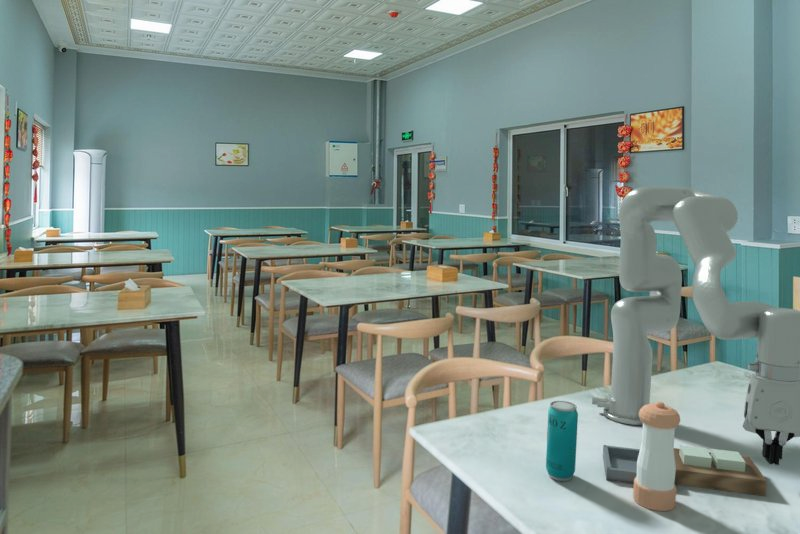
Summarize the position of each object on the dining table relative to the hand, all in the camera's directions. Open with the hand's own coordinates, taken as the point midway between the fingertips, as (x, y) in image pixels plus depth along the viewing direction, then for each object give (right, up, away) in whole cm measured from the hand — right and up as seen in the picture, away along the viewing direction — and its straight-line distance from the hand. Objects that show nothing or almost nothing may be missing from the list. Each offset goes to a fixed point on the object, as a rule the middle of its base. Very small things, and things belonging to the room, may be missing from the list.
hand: (771, 461), depth 114 cm
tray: (-24, -4, +6) cm, 25 cm away
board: (-10, -4, +4) cm, 11 cm away
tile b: (-13, -1, +4) cm, 14 cm away
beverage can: (-41, -4, +3) cm, 41 cm away
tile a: (-7, -2, +3) cm, 8 cm away
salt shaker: (-26, -6, -6) cm, 27 cm away
